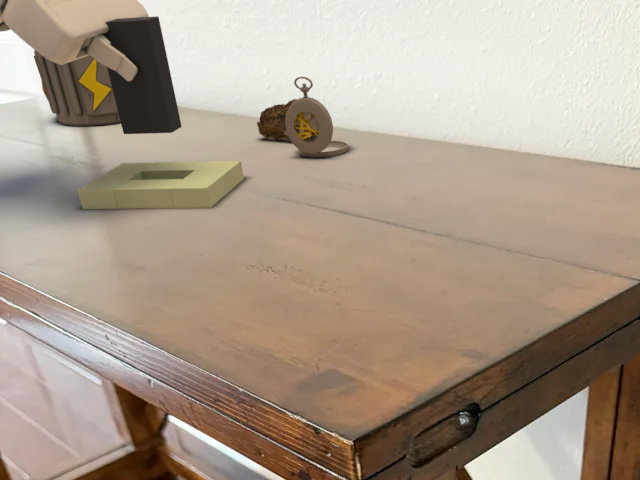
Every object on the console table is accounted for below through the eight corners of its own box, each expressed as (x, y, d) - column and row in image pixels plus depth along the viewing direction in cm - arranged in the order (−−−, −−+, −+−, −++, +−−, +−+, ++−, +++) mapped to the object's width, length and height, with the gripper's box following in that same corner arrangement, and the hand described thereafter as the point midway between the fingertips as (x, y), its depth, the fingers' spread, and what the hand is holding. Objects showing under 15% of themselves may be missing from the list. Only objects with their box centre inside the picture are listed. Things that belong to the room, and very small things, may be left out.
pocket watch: (344, 146, 114) (336, 65, 108) (354, 160, 108) (346, 74, 102) (286, 153, 113) (275, 71, 107) (293, 167, 107) (281, 81, 101)
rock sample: (339, 102, 119) (297, 65, 113) (339, 147, 118) (296, 113, 111) (289, 133, 126) (246, 100, 119) (288, 176, 124) (245, 145, 117)
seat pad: (83, 212, 96) (76, 189, 94) (127, 183, 105) (121, 163, 103) (211, 210, 93) (206, 187, 92) (244, 181, 102) (241, 160, 101)
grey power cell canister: (58, 112, 150) (-1, -94, 131) (162, 100, 152) (118, -103, 134) (48, 132, 135) (-21, -97, 117) (163, 119, 138) (113, -106, 119)
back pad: (123, 134, 94) (95, 22, 87) (134, 128, 96) (107, 19, 90) (172, 132, 93) (147, 19, 86) (181, 126, 95) (158, 16, 89)
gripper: (69, -12, 96) (166, 78, 101) (-30, 8, 81) (90, 114, 85) (92, -62, 93) (192, 34, 97) (-7, -50, 77) (117, 63, 81)
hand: (144, 72), depth 91 cm, fingers closed on back pad, 3 cm apart
